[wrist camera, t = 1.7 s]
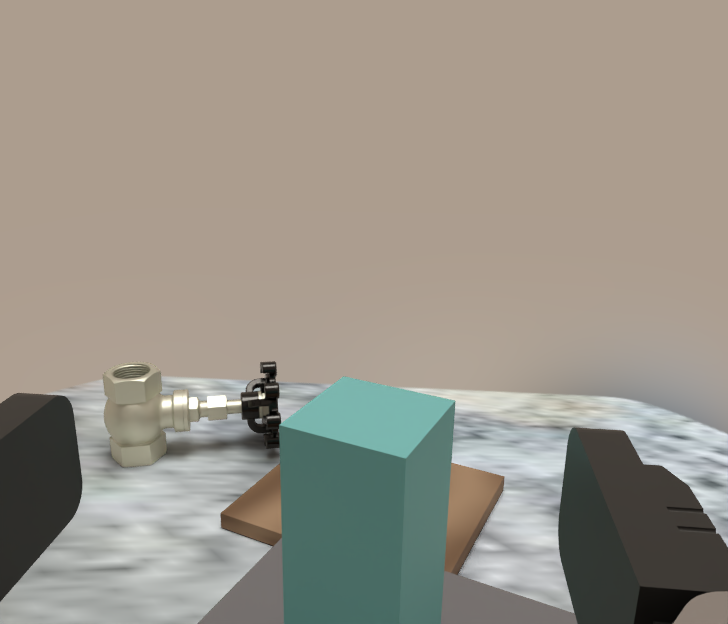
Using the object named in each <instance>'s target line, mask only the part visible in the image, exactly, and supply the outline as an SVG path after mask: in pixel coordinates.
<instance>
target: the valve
mask: <svg viewBox="0 0 728 624" xmlns="http://www.w3.org/2000/svg"><path fill="white" fill-rule="evenodd" d="M276 371H277V369H276V362H275V361H274V362H261V363H260V372H261V373H266V374H265V378H260V379H255V380H252V381H251V382H250V383H249V384H248V385H247V387H246V392H241V399H239V400H226V396H225V395H224V396H210V397H207V401H199V400H198V398H197V397H196V398H189V391H188V390H174V392H173V395H167V396H163V395H161V394H160V392H161V391H162V383H161V372H160V370H159V369H158V368H157V367H156V366H155V365H153V364H151V363H146V362H129V363H124V364H120V365H117V366H114V367H112V368H110V369H109V370H108V371H106V372H105V373H104V374H103V383H104V392H105V395H106V396H107V397H108V400H107V402H106V405H105V409H104V422H105V425H106V428H107V430H108V432H109V434H110V435H111V437H110V446H111V455H112V457H113V459H114V460H115V461H117V462H118V463H119V464H120V465H121V466H122V467H136V466H147V465H151V464H153V463H155V462H156V461H157V460H158V459H159V458H161V457H162V456H163V455H164V454H165V453H166V452H167V445H166V433H165V432H164V431H163V429H166V428H174V429H175V432H185V431H190V422H198V421H199V419H200V418H201V417H208V420H209V421H211V420H223V419H227V414H236V413H241V414H242V420H247V422H248V425H249V427H250V429H251V430H253V431H254V432H257V433H268V434H264V444H265V445H266V448H267V449H271V448H280V438H279V432H278V429H279V425H280V424H281V416H280V413H278V398H279V384H278V383H276V380H275V377H276V375H277V372H276ZM256 388H260V391H255V392H253V390H254V389H256ZM260 418H262V423H263V424H257V423H256V422H255V419H260Z"/></svg>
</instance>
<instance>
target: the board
mask: <svg viewBox="0 0 728 624" xmlns="http://www.w3.org/2000/svg"><path fill="white" fill-rule="evenodd" d="M503 486H504V476H500V475H496V474H493V473H489V472H485V471H481V470H477V469H473V468H469V467H466V466H462V465H458V464H454V463H451V475H450V490H449V505H448V520H447V536H446V551H445V566H444V571H447V572H450V573H453V574H456V575H457V574H458V572H459V570H460V569H461V567H462V565H463V563H464V561H465V559H466V557H467V556H468V554H469V552H470V550H471V548H472V546H473V545H474V543H475V541H476V539H477V537H478V535H479V533H480V532H481V530H482V528H483V526H484V524H485V522H486V521H487V519H488V517H489V515H490V513H491V511H492V509H493V508H494V506H495V504H496V502H497V500H498V498H499V497H500V495H501V493H502V491H503ZM221 528H224V529H227V530H230V531H233V532H235V533H238V534H241V535H244V536H247V537H250V538H252V539H255V540H258V541H261V542H264V543H267V544H269V545H272V546H274V545H275V544H276V543H277V542H278V541H279V540H280V539H281V538H282V522H281V480H280V464H278V465H277V466H276V467H275V468H274V469H272V470H271V471H270V472H269V473H268V474H267V475H265V476H264V477H263V478H262V479H261V480H259V481H258V482H257V483H256V484H255V485H254V486H252V487H251V488H250V489H249V490H248V491H246V492H245V493H244V494H243V495H242V496H240V497H239V498H238V499H237V500H236V501H235V502H233V503H232V504H231V505H230V506H229V507H227V508H226V509H225V510H224V511H223V512H221Z"/></svg>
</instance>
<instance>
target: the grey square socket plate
mask: <svg viewBox="0 0 728 624" xmlns="http://www.w3.org/2000/svg"><path fill="white" fill-rule="evenodd" d="M198 624H284V605H283V564H282V538H281V539H280V540H279V541H278V542H277V543H276V544H275V545H274V546H273V547H272V548H271V549H270V550H269V551H268V552H267V553H266V554H265V555H264V556H263V557H262V558H261V559H260V560H259V562H258V563H257V564H256V565H255V566H254V567H253V568H252V569H251V570H250V571H249V572H248V573H247V574H246V575H245V576H244V577H243V578H242V579H241V580H240V581H239V582H238V583H237V584H236V585H235V586H234V587H233V588H232V589H231V590H230V591H229V592H228V593H227V594H226V595H225V596H224V597H223V598H222V599H221V600H220V601H219V602H218V603H217V604H216V605H215V606H214V607H213V608H212V609H211V610H210V611H209V612H208V613H207V614H206V615H205V616H204V618H203V619H202V620H201V621H200V622H199V623H198ZM441 624H577V620H576V616H575V614H574V613H571V612H568V611H565V610H562V609H559V608H556V607H553V606H550V605H547V604H544V603H541V602H538V601H535V600H532V599H529V598H526V597H523V596H519V595H516V594H513V593H510V592H507V591H504V590H501V589H498V588H495V587H492V586H489V585H486V584H483V583H480V582H477V581H474V580H471V579H468V578H465V577H462V576H459V575H456V574H453V573H450V572H447V571H444V581H443V597H442V612H441Z"/></svg>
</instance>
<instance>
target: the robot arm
mask: <svg viewBox="0 0 728 624" xmlns="http://www.w3.org/2000/svg"><path fill="white" fill-rule="evenodd" d="M81 494H82V475H81V467H80V460H79V452H78V444H77V436H76V429H75V421H74V413H73V408H72V405H71V403H70V401H69V400H68V399H67V398H66V397H65V396H60V395H43V394H26V393H17V394H14V395H12V396H11V397H9V398H8V399H6V400H5V401H3V402H2V403H1V404H0V601H1V600H2V599H3V598H4V597H5V596H6V595H7V593H8V592H9V591H10V590H11V589H12V588H13V586H14V585H15V584H16V583H17V582H18V581H19V580H20V578H21V577H22V576H23V575H24V574H25V573H26V572H27V570H28V569H29V568H30V567H31V566H32V565H33V563H34V562H35V561H36V560H37V559H38V558H39V557H40V555H41V554H42V553H43V552H44V551H45V550H46V549H47V547H48V546H49V545H50V544H51V543H52V542H53V540H54V539H55V538H56V537H57V536H58V535H59V534H60V532H61V531H62V530H63V529H64V528H65V527H66V525H67V524H68V523H69V522H70V521H71V519H72V518H73V517H74V515H75V513H76V511H77V509H78V506H79V503H80V499H81ZM558 536H559V550H560V557H561V562H562V566H563V570H564V574H565V577H566V581H567V585H568V589H569V593H570V597H571V601H572V605H573V608H574V612H575V616H576V620H577V624H728V547H727V546H726V544H725V542H724V541H723V539H722V538H721V536H720V535H719V534H716V528H715V527H714V525H713V524H712V522H711V520H710V519H709V517H708V516H707V514H704V513H703V508H702V506H701V505H700V503H699V501H698V500H697V498H696V497H695V495H694V494H693V492H692V490H691V489H690V487H689V486H688V485H687V484H685V483H684V482H683V481H681V480H680V479H679V478H677V477H676V476H675V475H673V474H672V473H671V472H669V471H668V470H667V469H665V468H664V467H663V466H659V465H644V464H643V463H642V461H641V460H640V458H639V456H638V454H637V452H636V450H635V449H634V447H633V445H632V443H631V441H630V439H629V438H628V436H627V434H626V433H625V432H624V431H622V430H605V429H589V428H572V430H571V432H570V434H569V439H568V445H567V453H566V462H565V470H564V479H563V487H562V496H561V504H560V513H559V527H558Z"/></svg>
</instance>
